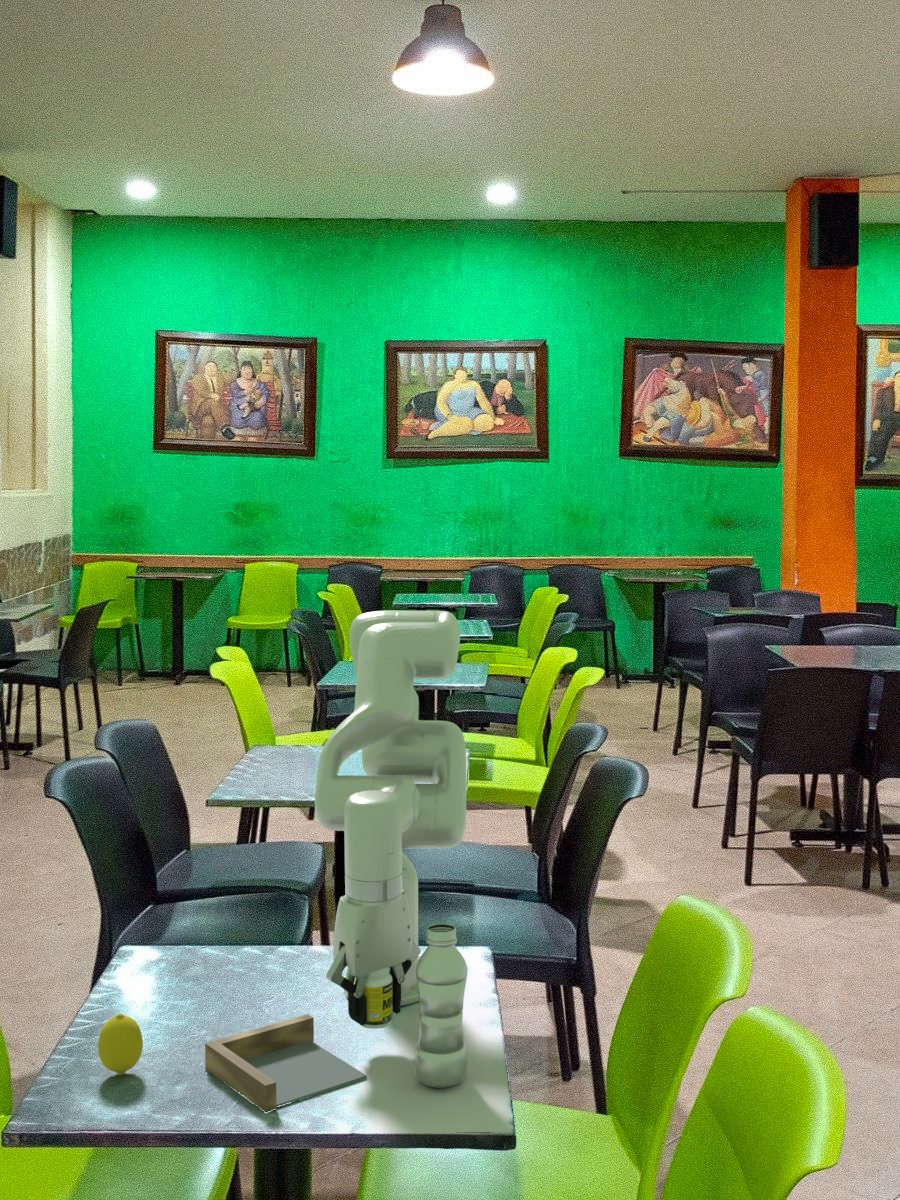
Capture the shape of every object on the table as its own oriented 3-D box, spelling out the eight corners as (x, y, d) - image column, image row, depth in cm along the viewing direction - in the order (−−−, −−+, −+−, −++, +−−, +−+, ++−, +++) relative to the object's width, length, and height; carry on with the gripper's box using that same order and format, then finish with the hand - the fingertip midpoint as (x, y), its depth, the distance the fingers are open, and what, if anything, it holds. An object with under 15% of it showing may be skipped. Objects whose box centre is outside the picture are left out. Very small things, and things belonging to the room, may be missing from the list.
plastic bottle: (406, 1077, 165) (406, 924, 164) (454, 1067, 168) (454, 917, 167) (426, 1098, 159) (426, 939, 158) (476, 1088, 162) (476, 932, 161)
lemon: (90, 1081, 164) (89, 1020, 163) (113, 1063, 169) (111, 1003, 169) (129, 1086, 163) (128, 1024, 162) (151, 1068, 168) (150, 1008, 167)
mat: (310, 1043, 175) (310, 1040, 175) (366, 1078, 165) (366, 1075, 165) (221, 1070, 167) (221, 1067, 167) (274, 1108, 157) (274, 1105, 157)
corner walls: (307, 1038, 177) (307, 1014, 177) (372, 1078, 165) (372, 1052, 165) (205, 1069, 167) (205, 1043, 167) (265, 1113, 155) (265, 1085, 155)
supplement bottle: (387, 1031, 171) (387, 971, 169) (353, 1028, 172) (352, 968, 170) (396, 1015, 175) (396, 956, 174) (362, 1011, 176) (362, 953, 175)
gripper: (408, 863, 179) (409, 988, 181) (303, 891, 168) (306, 1023, 171) (441, 879, 173) (442, 1007, 176) (335, 909, 163) (337, 1045, 165)
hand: (375, 1014), depth 173 cm, fingers closed on supplement bottle, 4 cm apart
